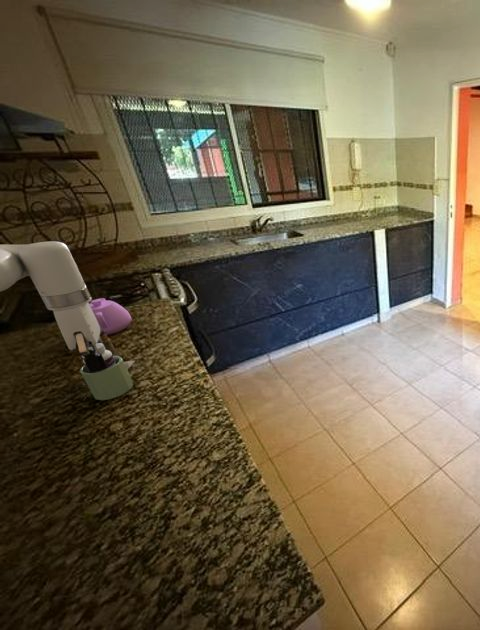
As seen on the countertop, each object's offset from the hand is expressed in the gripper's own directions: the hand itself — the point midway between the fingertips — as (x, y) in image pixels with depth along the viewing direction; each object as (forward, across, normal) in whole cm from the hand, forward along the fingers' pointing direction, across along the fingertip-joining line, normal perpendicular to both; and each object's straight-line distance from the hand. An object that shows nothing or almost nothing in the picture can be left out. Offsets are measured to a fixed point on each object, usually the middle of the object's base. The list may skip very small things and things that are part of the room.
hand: (100, 363), depth 85 cm
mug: (+8, 0, 0) cm, 8 cm away
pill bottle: (+5, 0, 0) cm, 5 cm away
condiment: (+8, -12, -1) cm, 14 cm away
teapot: (+8, -44, -4) cm, 45 cm away
